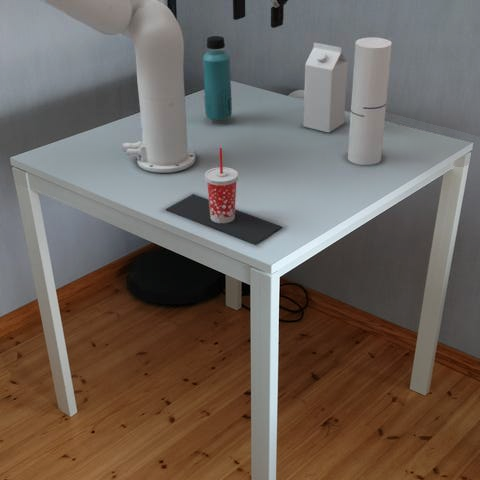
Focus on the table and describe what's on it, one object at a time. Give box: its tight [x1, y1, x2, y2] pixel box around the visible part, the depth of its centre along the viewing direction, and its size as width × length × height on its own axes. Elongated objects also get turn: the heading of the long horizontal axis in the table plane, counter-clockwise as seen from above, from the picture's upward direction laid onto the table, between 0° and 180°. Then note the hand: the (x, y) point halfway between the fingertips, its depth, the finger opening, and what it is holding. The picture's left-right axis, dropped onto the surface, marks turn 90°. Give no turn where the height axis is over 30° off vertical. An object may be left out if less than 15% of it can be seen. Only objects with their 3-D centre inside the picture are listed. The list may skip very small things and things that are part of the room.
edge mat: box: [165, 193, 283, 246], centre depth 150 cm, size 22×8×1 cm, turn 51°
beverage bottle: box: [202, 35, 233, 121], centre depth 186 cm, size 6×7×20 cm
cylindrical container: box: [347, 37, 393, 166], centre depth 166 cm, size 7×7×25 cm
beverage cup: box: [204, 147, 239, 223], centre depth 146 cm, size 6×6×14 cm
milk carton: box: [302, 42, 349, 134], centre depth 183 cm, size 7×7×19 cm
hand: (257, 22), depth 160 cm, fingers open, 9 cm apart
